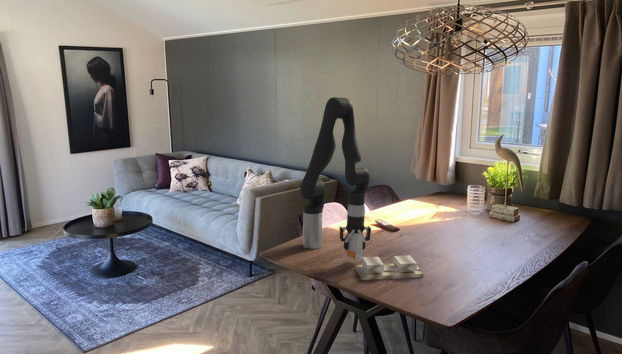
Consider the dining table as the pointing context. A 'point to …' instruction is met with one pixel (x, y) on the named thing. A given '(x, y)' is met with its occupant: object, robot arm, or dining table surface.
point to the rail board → (388, 268)
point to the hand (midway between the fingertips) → (354, 249)
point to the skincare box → (355, 246)
